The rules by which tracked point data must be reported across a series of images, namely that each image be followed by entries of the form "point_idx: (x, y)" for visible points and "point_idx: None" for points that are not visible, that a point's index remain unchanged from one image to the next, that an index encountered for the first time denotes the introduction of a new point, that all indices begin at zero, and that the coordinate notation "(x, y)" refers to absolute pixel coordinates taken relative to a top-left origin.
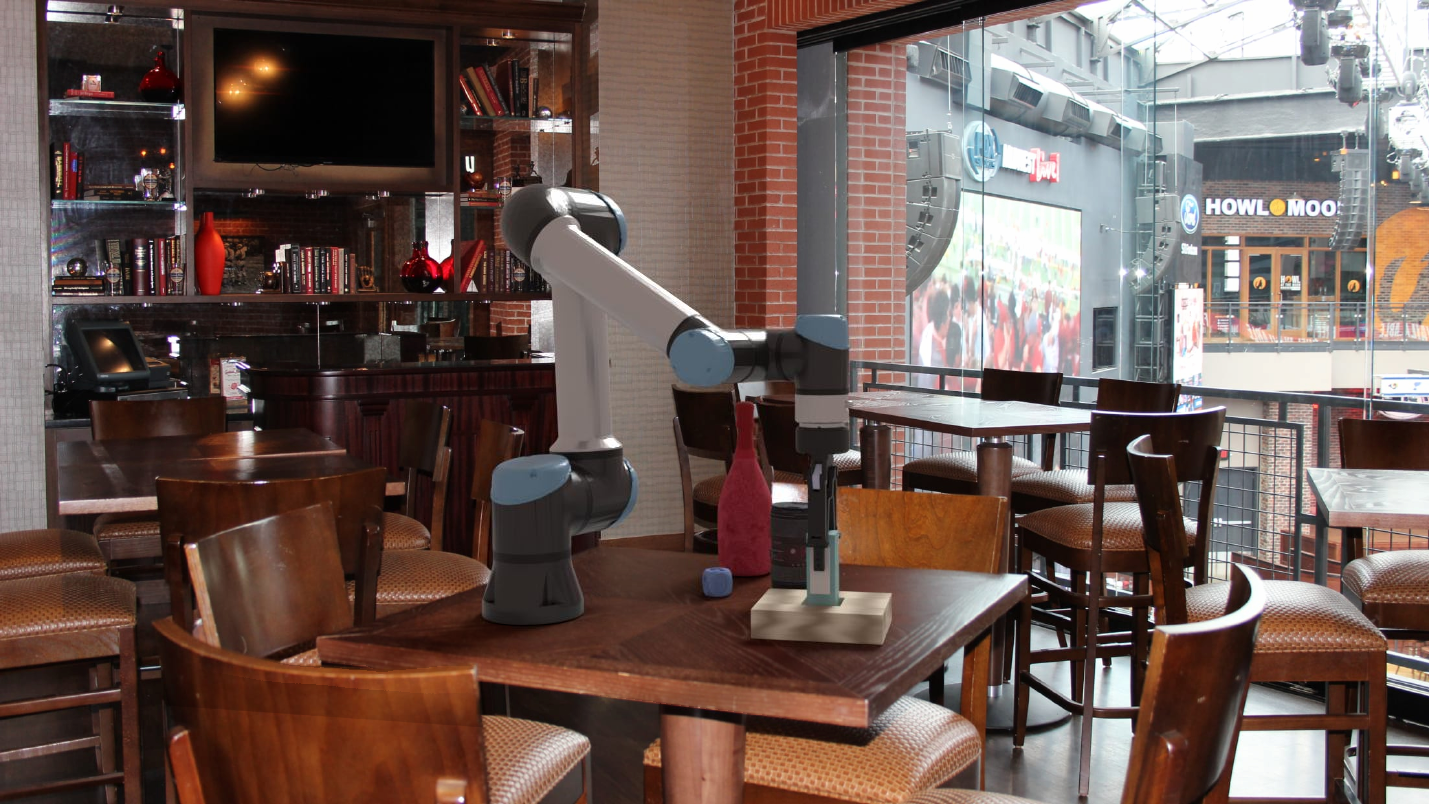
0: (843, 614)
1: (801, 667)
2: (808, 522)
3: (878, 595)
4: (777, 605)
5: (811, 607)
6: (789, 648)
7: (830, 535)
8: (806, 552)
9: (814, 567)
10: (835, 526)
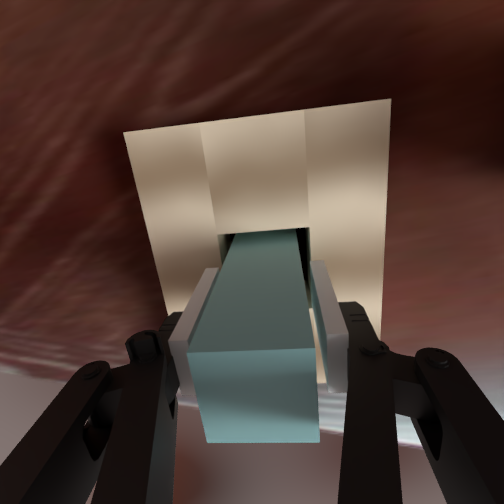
0: None
1: (26, 268)
2: (19, 445)
3: None
4: (188, 185)
5: (198, 262)
6: (117, 224)
7: (205, 428)
8: (204, 309)
9: (167, 320)
10: (415, 425)
